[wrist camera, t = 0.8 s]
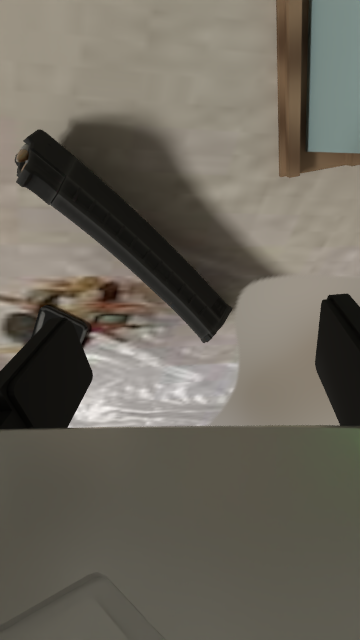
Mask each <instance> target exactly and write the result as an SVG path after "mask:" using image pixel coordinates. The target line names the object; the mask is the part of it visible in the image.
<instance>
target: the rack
mask: <svg viewBox="0 0 360 640" xmlns="http://www.w3.org/2000/svg"><path fill="white" fill-rule="evenodd" d="M276 10H277V68H278V127H279V176H280V177H284V176H287V177H289V178H290V177H296V176H300V173H305V172H310V171H316V170H321V169H326V168H332V167H337V166H342V165H349V166H355V165H360V153H334V152H306V151H305V150H306V104H307V58H308V12H309V0H276Z"/></svg>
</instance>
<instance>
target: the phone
mask: <svg viewBox="0 0 360 640" xmlns="http://www.w3.org/2000/svg"><path fill="white" fill-rule="evenodd" d="M65 315H67V314H65V313H63V312H61V311H59V310H57V309H55V308H53V307H51V306H47V305H46V306H43V307H42V308H41V309H40V310H39V313H38V317H37V320H36V324H35V327H34V331H33V334H32V337H33V336H34V335H35V334H36V333H37V332H38V331H39V330H40V329H41V328H42V327H43V325H44V324H45V323H46V322H47V321H48V320H49V319H51V318H62V317H65V318H67V319H68V320H70V321H71V322H72V323H73V325H74V327H75V330H76V332H77V335H78V337H79V340H80V342H81V345H82V342H83V340H84V337H85V335H86V333H87V330H88V327H87V325H86V324H85V323H84V322H82V321H80V320H78V319H76V318H74V317H72V316H69V315H67V316H69V317H70V318H69V317H67V316H65ZM32 337H31V338H32Z"/></svg>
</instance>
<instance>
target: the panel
mask: <svg viewBox="0 0 360 640" xmlns="http://www.w3.org/2000/svg"><path fill="white" fill-rule="evenodd" d="M305 151H306V152H334V153H360V0H309V12H308V58H307V104H306V150H305Z"/></svg>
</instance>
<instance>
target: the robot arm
mask: <svg viewBox="0 0 360 640" xmlns="http://www.w3.org/2000/svg"><path fill="white" fill-rule="evenodd" d="M315 365H316V370H317V373H318V375H319V377H320V380H321V382H322V384H323V386H324V389H325V391H326V393H327V396H328V398H329V400H330V403H331V405H332V407H333V409H334V412H335V414H336V416H337V419H338V421H339V423H340V426H333V425H332V426H331V425H274V426H273V425H268V426H267V425H265V426H157V427H91V428H67V427H68V425H69V423H70V422H71V420H72V418H73V416H74V414H75V412H76V410H77V408H78V406H79V404H80V402H81V400H82V399H83V397H84V395H85V393H86V391H87V389H88V387H89V385H90V383H91V381H92V378H93V373H92V370H91V367H90V365H89V362H88V360H87V357H86V355H85V352H84V350H83V347H82V345H81V342H80V340H79V337H78V335H77V332H76V330H75V327H74V325H73V323H72V322H71V321H70V320H68V319H67V318H65V317H62V318H51V319H49V320H48V321H47V322H46V323H45V324H44V325H43V327H42V328H41V329H40V330H39V331H38V332H37V333H36V334H35V335H34V336H33V337H32V338H31V339H30V340H29V341H28V342H27V344H26V345H25V346H24V347H23V348H22V349H21V350H20V351H19V352H18V353H17V354H16V355H15V356H14V357H13V358H12V359H11V360H10V362H9V363H8V364H7V365H6V366H5V367H4V368H3V369H2V370H1V371H0V640H360V307H359V306H358V305H357V303H356V302H355V301H354V300H353V299H352V298H351V296H350V295H349V294H336V295H329V296H328V298H327V299H326V300H322V303H321V312H320V322H319V331H318V340H317V350H316V360H315Z"/></svg>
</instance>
